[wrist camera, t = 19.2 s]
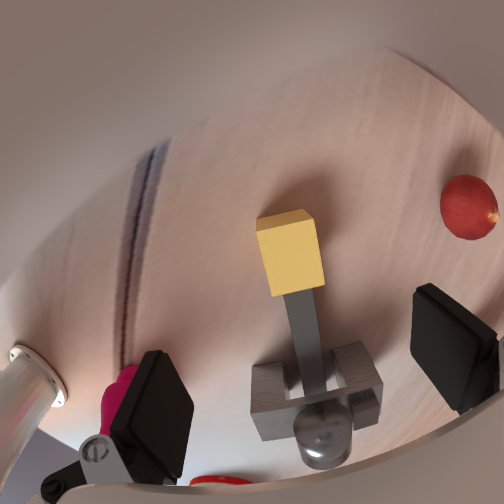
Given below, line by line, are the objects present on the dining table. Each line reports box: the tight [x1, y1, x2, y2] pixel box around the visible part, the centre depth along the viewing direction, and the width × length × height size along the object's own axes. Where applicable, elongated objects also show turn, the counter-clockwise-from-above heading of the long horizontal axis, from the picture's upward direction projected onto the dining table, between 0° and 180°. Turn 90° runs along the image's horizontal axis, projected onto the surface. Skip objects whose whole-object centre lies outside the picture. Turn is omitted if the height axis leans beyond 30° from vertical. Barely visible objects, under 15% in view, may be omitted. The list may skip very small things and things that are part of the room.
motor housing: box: [250, 341, 383, 470], centre depth 22 cm, size 12×5×12 cm, turn 104°
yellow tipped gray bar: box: [256, 209, 327, 397], centre depth 24 cm, size 4×20×5 cm, turn 14°
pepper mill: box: [99, 366, 139, 436], centre depth 20 cm, size 7×7×20 cm
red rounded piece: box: [440, 174, 500, 240], centre depth 18 cm, size 6×6×8 cm
